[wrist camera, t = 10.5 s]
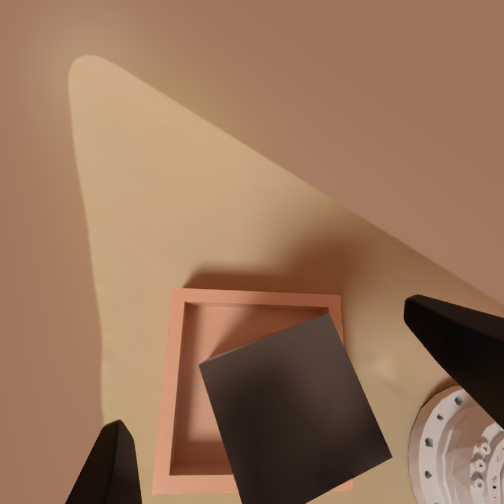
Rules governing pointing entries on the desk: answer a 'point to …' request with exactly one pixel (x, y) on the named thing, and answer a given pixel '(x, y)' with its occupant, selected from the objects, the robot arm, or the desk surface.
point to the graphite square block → (292, 414)
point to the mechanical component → (456, 452)
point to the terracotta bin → (192, 385)
